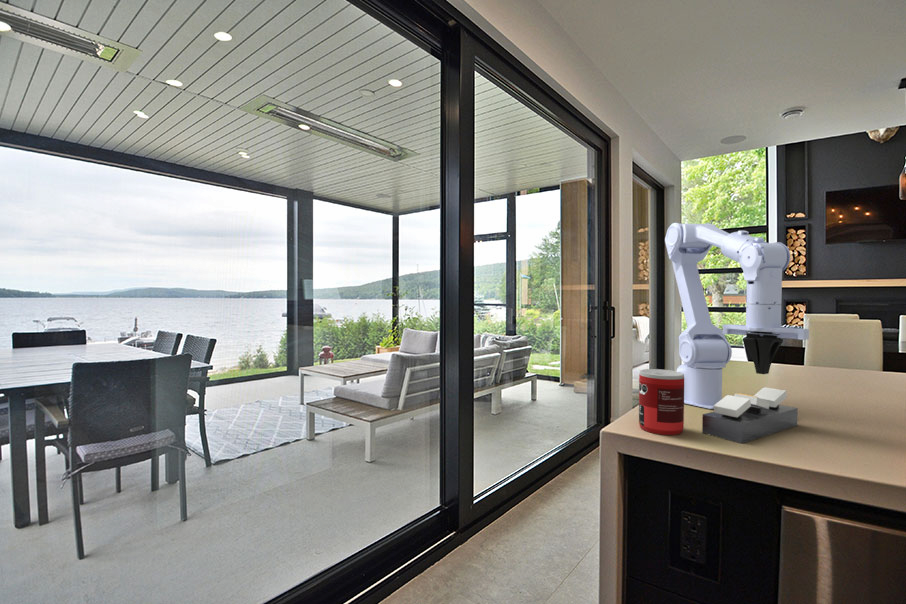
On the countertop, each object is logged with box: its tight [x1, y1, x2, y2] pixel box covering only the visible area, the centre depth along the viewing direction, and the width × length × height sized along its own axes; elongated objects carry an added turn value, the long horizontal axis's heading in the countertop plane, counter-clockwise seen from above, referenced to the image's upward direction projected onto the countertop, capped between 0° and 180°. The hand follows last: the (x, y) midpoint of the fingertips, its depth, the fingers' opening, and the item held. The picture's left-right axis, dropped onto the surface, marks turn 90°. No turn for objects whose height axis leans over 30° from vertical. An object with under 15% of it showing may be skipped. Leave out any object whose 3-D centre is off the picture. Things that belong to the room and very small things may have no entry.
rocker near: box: [713, 394, 751, 417], centre depth 85 cm, size 4×5×1 cm
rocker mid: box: [733, 392, 770, 409], centre depth 88 cm, size 4×5×2 cm
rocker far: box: [753, 386, 788, 407], centre depth 92 cm, size 4×5×1 cm
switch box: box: [701, 404, 799, 444], centre depth 90 cm, size 7×27×4 cm, turn 122°
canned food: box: [638, 368, 685, 436], centre depth 88 cm, size 8×8×11 cm
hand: (762, 373), depth 90 cm, fingers closed
